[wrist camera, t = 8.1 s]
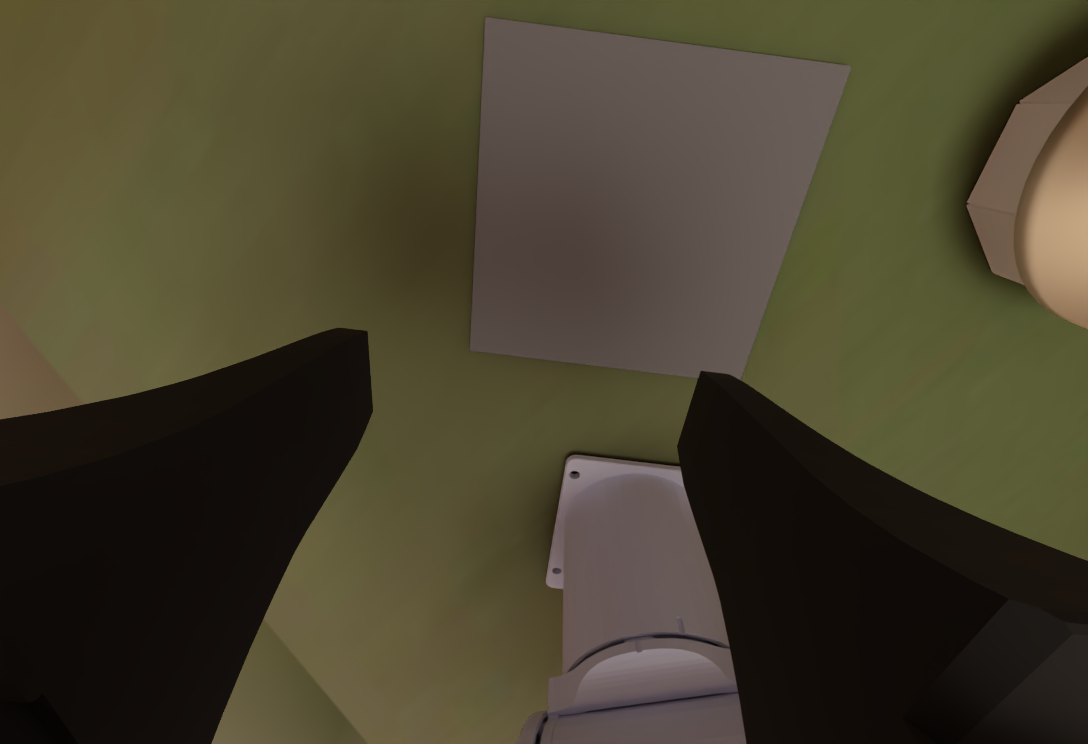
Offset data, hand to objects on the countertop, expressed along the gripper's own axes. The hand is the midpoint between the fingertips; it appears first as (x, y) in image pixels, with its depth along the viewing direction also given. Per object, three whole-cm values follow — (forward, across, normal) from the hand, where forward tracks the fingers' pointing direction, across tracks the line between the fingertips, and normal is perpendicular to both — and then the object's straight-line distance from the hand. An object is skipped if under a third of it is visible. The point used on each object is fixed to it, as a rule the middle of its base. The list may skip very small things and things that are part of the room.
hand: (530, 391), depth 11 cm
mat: (+10, -3, -2) cm, 11 cm away
